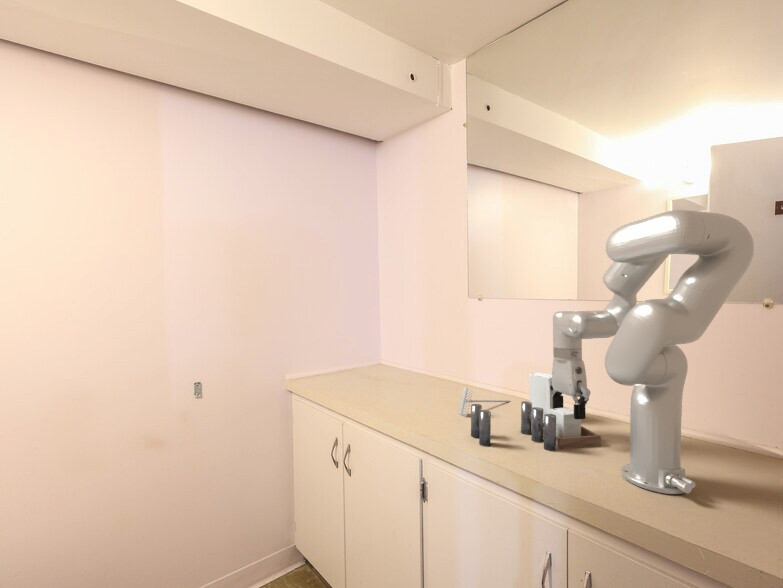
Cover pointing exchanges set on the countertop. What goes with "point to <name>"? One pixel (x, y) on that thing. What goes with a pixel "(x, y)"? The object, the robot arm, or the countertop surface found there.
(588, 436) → the walnut tray
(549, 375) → the skincare box
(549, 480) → the countertop surface
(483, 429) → the posts
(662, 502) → the countertop surface
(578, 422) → the skincare box
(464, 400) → the brush
